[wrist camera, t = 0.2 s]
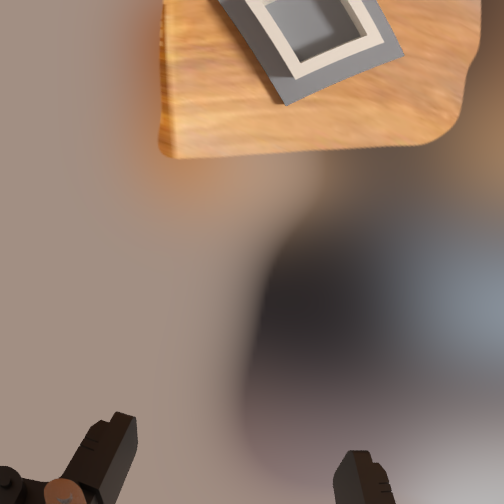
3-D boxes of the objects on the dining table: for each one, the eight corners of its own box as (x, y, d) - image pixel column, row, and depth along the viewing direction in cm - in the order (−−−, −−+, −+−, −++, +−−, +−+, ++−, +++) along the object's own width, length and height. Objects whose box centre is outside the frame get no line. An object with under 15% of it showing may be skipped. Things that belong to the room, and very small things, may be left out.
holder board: (218, -2, 25) (208, -8, 22) (336, -54, 20) (342, -66, 17) (286, 104, 32) (285, 111, 28) (401, 55, 27) (414, 56, 23)
